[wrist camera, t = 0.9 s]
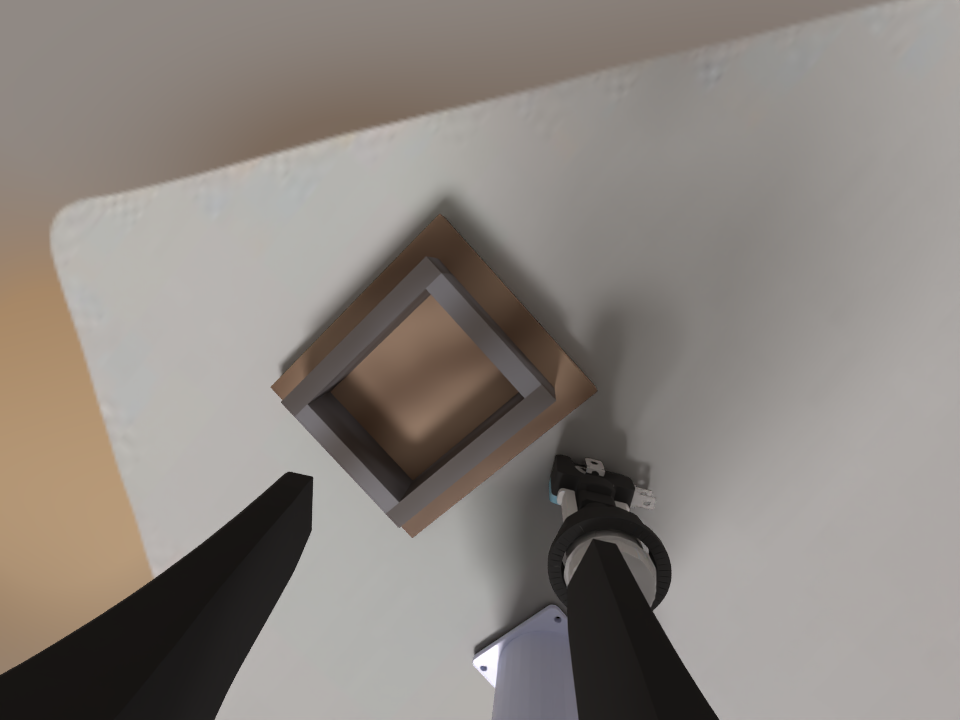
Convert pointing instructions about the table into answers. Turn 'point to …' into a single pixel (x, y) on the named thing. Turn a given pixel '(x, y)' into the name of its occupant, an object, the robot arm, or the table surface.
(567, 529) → the push button
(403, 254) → the socket board
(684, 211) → the table surface
